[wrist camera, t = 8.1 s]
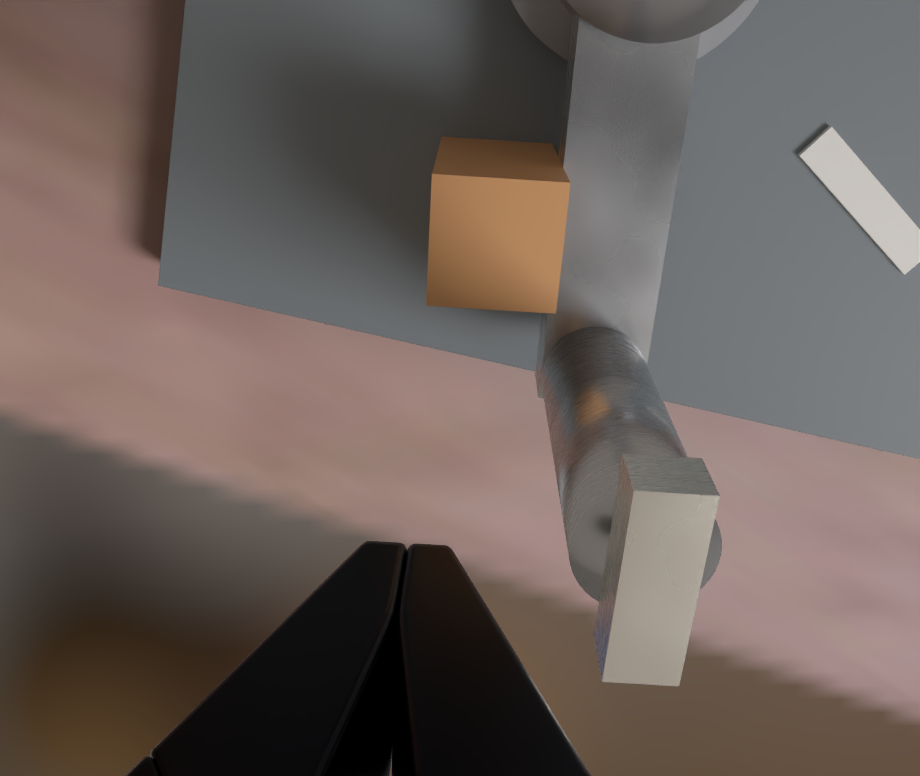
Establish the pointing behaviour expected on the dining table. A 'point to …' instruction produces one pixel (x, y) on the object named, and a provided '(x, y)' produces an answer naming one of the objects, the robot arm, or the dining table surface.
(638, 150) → the crank
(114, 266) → the dining table surface
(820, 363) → the crank bed
